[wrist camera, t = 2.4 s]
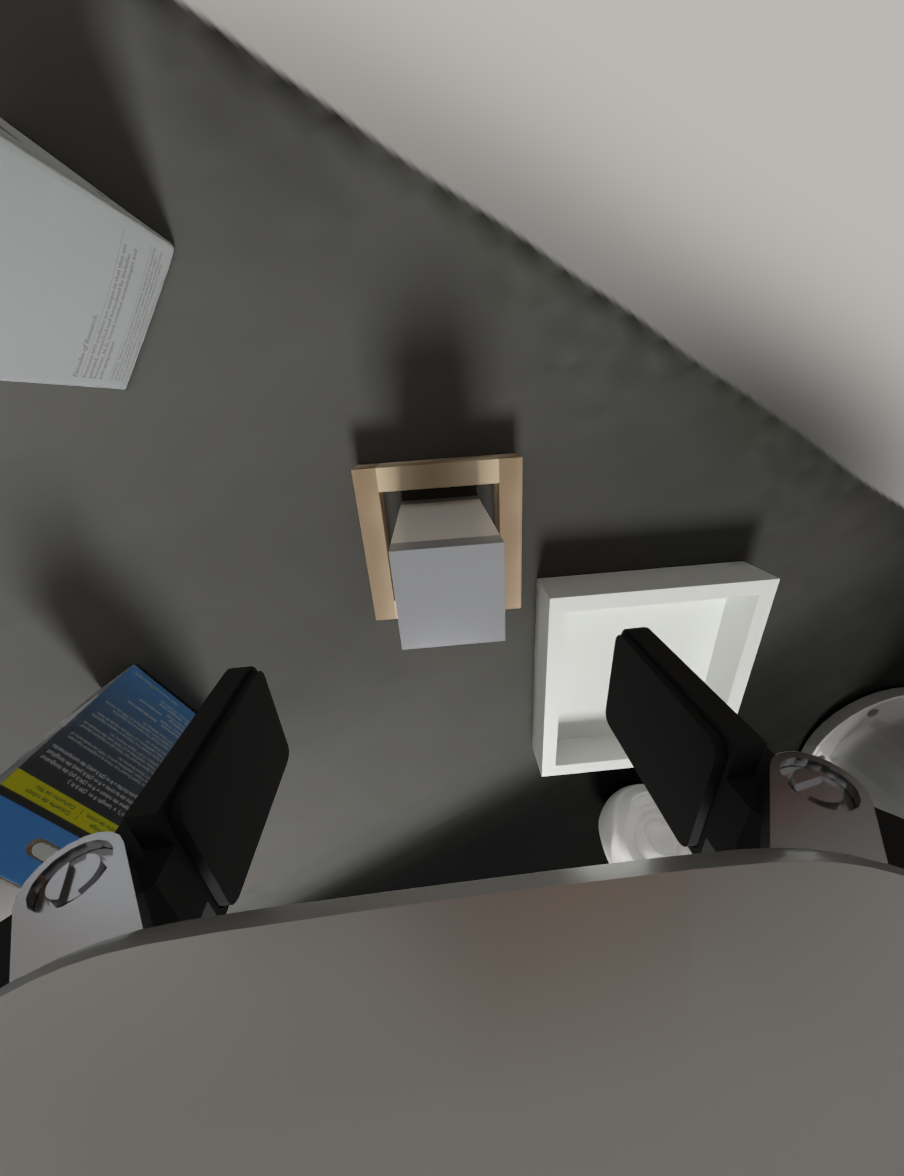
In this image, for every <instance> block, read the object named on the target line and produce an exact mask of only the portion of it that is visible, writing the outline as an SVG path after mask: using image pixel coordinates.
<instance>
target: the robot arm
mask: <svg viewBox="0 0 904 1176" xmlns="http://www.w3.org/2000/svg"><path fill="white" fill-rule="evenodd" d="M606 719H607V722H608V725H609V727H610V728H611V730H612V732H613V733H614V735H615V737H616V738H617V740H618V742H619V743H620V745H621V747H622V748H623V750H624V752H625V753H626V755H627V757H628V758H629V760H630V762H631V763H632V765H633V767H634V768H635V770H636V772H637V774H638V775H639V777H640V779H641V780H642V782H643V784H644V785H645V787H646V789H647V790H648V792H649V794H650V795H651V797H652V799H653V800H654V802H655V804H656V805H657V807H658V809H659V810H660V812H661V814H662V815H663V817H664V819H665V821H666V822H667V824H668V826H669V827H670V829H671V831H672V832H673V834H674V836H675V837H676V839H677V840H678V842H679V843H680V844H681V845H682V846H684V847H688V848H689V849H690V851H691V853H692V854H688V855H678V856H668V857H659V858H651V859H643V860H635V861H627V862H618V863H610V864H602V865H594V866H586V867H578V868H569V869H561V870H553V871H545V872H537V873H529V874H521V875H514V876H506V877H498V878H490V879H482V880H474V881H467V882H459V883H451V884H443V885H436V886H428V887H420V888H412V889H405V890H397V891H389V892H382V893H375V894H367V895H360V896H352V897H345V898H337V899H330V900H322V901H315V902H308V903H300V904H293V905H285V906H278V907H270V908H263V909H257V910H250V911H244V912H237V913H231V914H226V912H227V910H228V907H229V905H233V904H234V903H235V902H236V901H237V899H238V897H239V895H240V892H241V890H242V887H243V884H244V881H245V879H246V876H247V873H248V870H249V867H250V865H251V862H252V859H253V856H254V853H255V851H256V848H257V845H258V842H259V839H260V837H261V834H262V831H263V828H264V826H265V823H266V820H267V817H268V814H269V812H270V809H271V806H272V803H273V800H274V798H275V795H276V792H277V789H278V786H279V784H280V781H281V778H282V775H283V773H284V770H285V767H286V764H287V761H288V757H289V748H288V744H287V741H286V738H285V735H284V732H283V729H282V726H281V723H280V720H279V717H278V714H277V711H276V708H275V705H274V702H273V699H272V696H271V693H270V690H269V687H268V684H267V681H266V678H265V676H264V673H263V672H261V671H257V670H256V668H255V667H252V666H250V667H240V668H231V669H228V670H227V671H226V672H225V673H224V675H223V676H222V678H221V679H220V680H219V682H218V683H217V685H216V686H215V687H214V689H213V690H212V692H211V693H210V695H209V696H208V697H207V699H206V700H205V702H204V703H203V704H202V706H201V707H200V709H199V710H198V712H197V713H196V714H195V716H194V717H193V719H192V720H191V721H190V723H189V724H188V726H187V727H186V728H185V730H184V731H183V733H182V734H181V736H180V737H179V738H178V740H177V741H176V743H175V744H174V745H173V747H172V748H171V750H170V751H169V753H168V754H167V755H166V757H165V758H164V760H163V761H162V762H161V764H160V765H159V767H158V768H157V769H156V771H155V772H154V774H153V775H152V777H151V778H150V779H149V781H148V782H147V784H146V785H145V786H144V788H143V789H142V791H141V792H140V794H139V795H138V796H137V798H136V799H135V801H134V802H133V803H132V805H131V806H130V808H129V809H128V811H127V812H126V813H125V815H124V816H123V821H122V822H121V824H120V825H119V827H118V828H117V830H116V831H115V832H98V833H94V834H91V835H87V836H84V837H82V838H80V839H78V840H76V841H74V842H72V843H70V844H68V845H67V846H65V847H64V848H62V849H61V850H59V851H58V852H56V853H55V854H53V855H52V856H51V857H50V858H48V859H47V860H46V861H45V862H44V863H43V864H41V865H40V866H39V867H38V868H37V869H36V870H35V871H34V872H33V873H32V875H31V876H30V877H29V878H28V879H27V880H26V881H25V883H24V884H23V886H22V887H21V889H20V891H19V892H18V894H17V896H16V898H15V902H14V905H13V910H12V915H10V916H9V917H7V918H6V919H4V920H3V921H1V922H0V1176H904V687H901V688H892V689H888V690H883V691H879V692H876V693H873V694H870V695H868V696H865V697H862V698H860V699H858V700H856V701H854V702H852V703H850V704H848V705H847V706H845V707H843V708H842V709H840V710H839V711H837V712H836V713H834V714H833V715H832V716H830V717H829V718H828V719H827V720H825V721H824V722H823V723H822V724H821V725H820V726H819V727H818V728H817V729H816V730H815V731H814V732H813V733H812V735H811V736H810V738H809V739H808V740H807V742H806V743H805V745H804V747H803V749H802V751H801V752H793V751H787V752H782V753H778V754H777V755H774V754H773V753H772V752H771V751H770V750H769V749H768V748H767V747H766V745H767V743H766V742H765V741H764V740H763V739H762V738H761V737H760V736H759V735H758V734H757V733H756V732H755V731H754V730H753V729H752V728H751V727H750V726H749V725H748V724H747V723H746V722H745V721H744V720H743V719H742V718H741V717H740V716H739V715H738V714H736V713H735V712H734V711H733V710H732V709H731V708H730V707H729V706H728V705H727V704H726V703H725V702H724V701H723V700H722V699H721V698H720V697H719V696H718V695H717V694H716V693H715V692H714V691H713V690H712V689H711V688H710V687H709V686H708V685H707V684H706V683H705V682H704V681H703V680H702V679H700V678H699V677H698V676H697V675H696V674H695V673H694V672H693V671H692V670H691V669H690V668H689V667H688V666H687V665H686V664H685V663H684V662H683V661H682V660H681V659H680V658H679V657H678V656H677V655H676V654H675V653H674V652H673V651H672V650H671V649H670V648H669V647H668V646H667V645H666V644H665V643H663V642H662V641H661V640H660V639H659V638H658V637H657V636H656V635H655V634H654V633H653V632H652V631H651V630H650V629H649V628H647V627H640V628H630V629H624V630H623V631H622V633H621V635H618V636H617V637H616V640H615V646H614V653H613V661H612V668H611V675H610V682H609V689H608V697H607V704H606Z"/></svg>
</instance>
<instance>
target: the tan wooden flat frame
mask: <svg viewBox="0 0 904 1176" xmlns="http://www.w3.org/2000/svg"><path fill="white" fill-rule="evenodd" d="M522 459H523V457H521V456H519V455H517V454H515V453H509V454H496V455H483V456H469V457H456V458H443V459H429V460H416V461H403V462H389V463H376V464H363V465H357V466H355V467H354V468H353V469H352V470H351V472H352V478H353V484H354V490H355V496H356V502H357V508H358V514H359V520H360V526H361V532H362V538H363V544H364V550H365V556H366V562H367V568H368V574H369V580H370V585H371V591H372V597H373V603H374V609H375V615H376V620H387V619H398V616H397V609H396V602H395V594H394V587H393V580H392V573H391V566H390V559H389V548H390V538H389V530H388V523H387V516H386V508H385V501H384V494H383V492H390V491H403V490H416V489H429V488H442V487H455V486H468V485H481V484H494V525H495V527H496V529H497V531H498V532H499V534H500V536H501V537H502V539H503V541H504V555H505V609H514V608H521V549H522Z"/></svg>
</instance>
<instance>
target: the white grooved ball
mask: <svg viewBox="0 0 904 1176" xmlns="http://www.w3.org/2000/svg"><path fill="white" fill-rule="evenodd" d="M599 834H600V838H601V842H602V846H603V849H604V852H605V854H606V857H607V859H608V861H609V864H610V863H618V862H627V861H635V860H643V859H651V858H659V857H668V856H678V855H688V854H692V853H691V851H690V849H689V848H688V847H684V846H682V845H681V844H680V843H679V842H678V840H677V839H676V837H675V836H674V834H673V832H672V831H671V829H670V827H669V826H668V824H667V822H666V821H665V819H664V817H663V815H662V814H661V812H660V810H659V809H658V807H657V805H656V804H655V802H654V800H653V799H652V797H651V795H650V794H649V792H648V790H647V789H646V787H645V785H644V784H635V785H630V786H626V787H624V788H622V789H620V790H618V791H616V792H615V793H614V794H613V795H612V796H611V797H610V798H609V799H608V800H607V802H606V803H605V805H604V807H603V809H602V811H601V814H600V817H599Z"/></svg>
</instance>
